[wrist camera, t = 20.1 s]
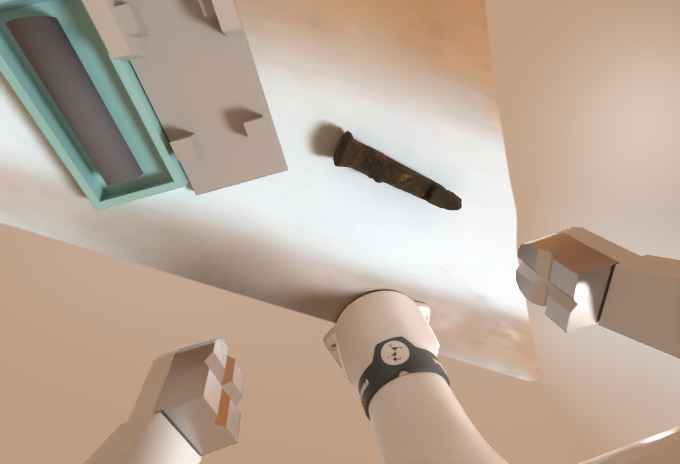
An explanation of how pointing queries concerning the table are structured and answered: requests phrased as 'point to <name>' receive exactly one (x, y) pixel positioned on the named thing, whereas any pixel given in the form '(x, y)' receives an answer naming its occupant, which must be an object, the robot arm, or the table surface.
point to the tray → (116, 92)
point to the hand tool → (392, 172)
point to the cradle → (197, 84)
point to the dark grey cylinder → (75, 96)
